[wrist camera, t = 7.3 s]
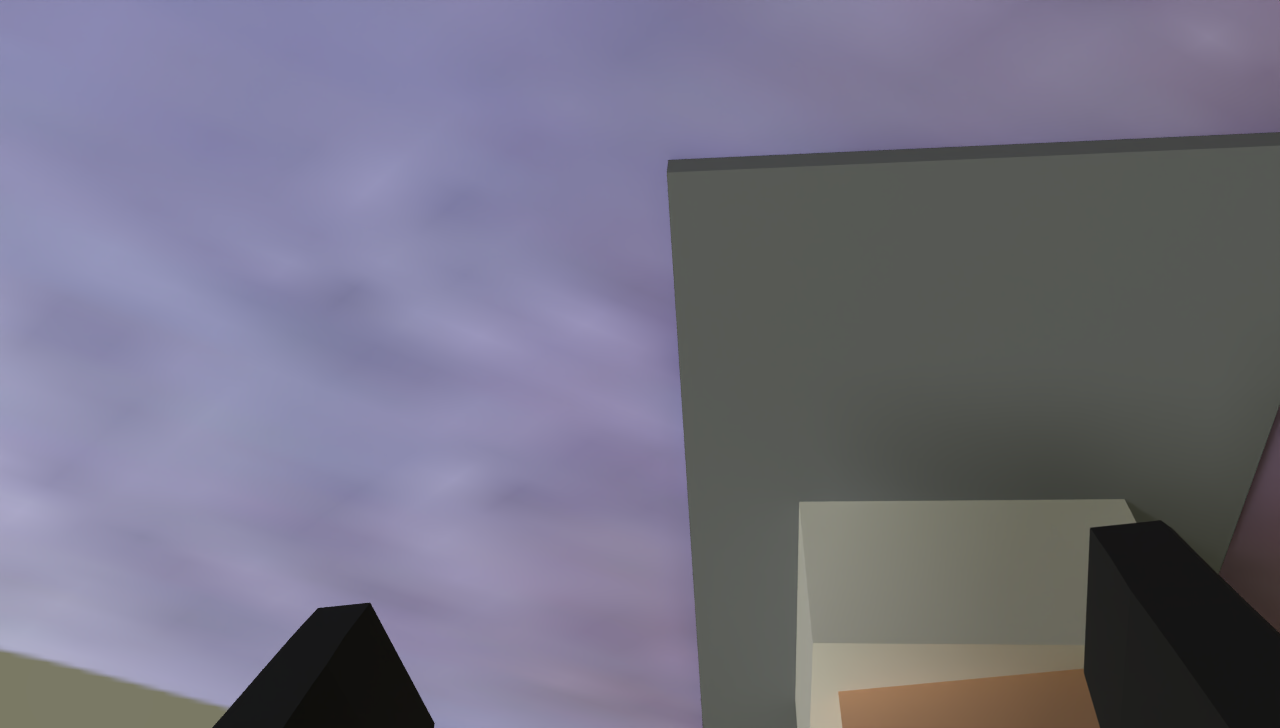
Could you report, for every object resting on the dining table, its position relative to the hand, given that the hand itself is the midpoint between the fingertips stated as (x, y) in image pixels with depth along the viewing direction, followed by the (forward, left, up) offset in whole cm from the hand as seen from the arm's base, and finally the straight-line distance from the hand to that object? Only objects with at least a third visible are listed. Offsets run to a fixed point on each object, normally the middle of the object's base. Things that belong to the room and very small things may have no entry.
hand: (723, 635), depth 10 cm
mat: (-5, +8, -10) cm, 14 cm away
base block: (-5, +11, -10) cm, 15 cm away
